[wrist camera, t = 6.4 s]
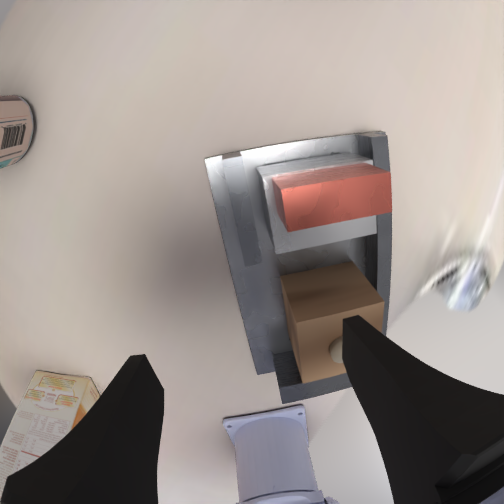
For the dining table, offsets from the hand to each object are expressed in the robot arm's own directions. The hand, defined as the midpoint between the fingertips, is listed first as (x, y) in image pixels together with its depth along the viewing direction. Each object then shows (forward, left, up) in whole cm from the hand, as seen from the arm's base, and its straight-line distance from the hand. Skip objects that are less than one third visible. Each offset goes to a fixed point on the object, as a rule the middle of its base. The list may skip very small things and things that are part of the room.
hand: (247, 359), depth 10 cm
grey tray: (-3, -5, -10) cm, 11 cm away
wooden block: (-5, -5, -9) cm, 12 cm away
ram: (+3, -5, -9) cm, 11 cm away
